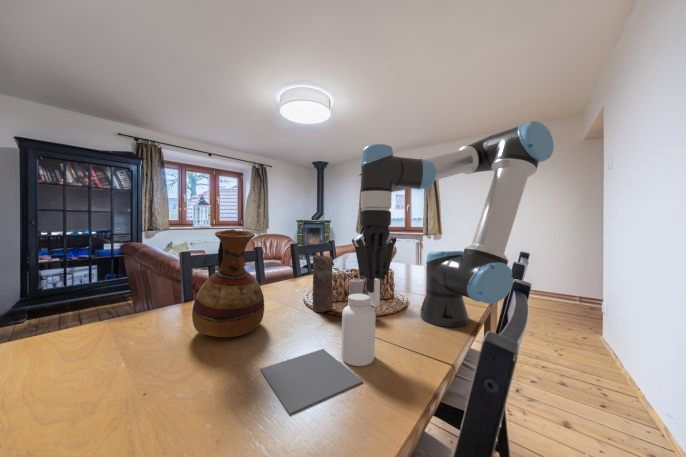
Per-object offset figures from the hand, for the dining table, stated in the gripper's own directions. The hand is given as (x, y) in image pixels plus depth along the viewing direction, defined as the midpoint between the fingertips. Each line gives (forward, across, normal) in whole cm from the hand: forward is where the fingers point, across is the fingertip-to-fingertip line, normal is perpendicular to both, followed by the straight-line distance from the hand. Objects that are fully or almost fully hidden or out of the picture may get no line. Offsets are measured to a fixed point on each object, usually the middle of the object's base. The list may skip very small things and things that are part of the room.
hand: (373, 304), depth 65 cm
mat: (+12, +18, 0) cm, 22 cm away
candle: (+12, -5, -34) cm, 36 cm away
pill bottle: (+12, +5, 0) cm, 13 cm away
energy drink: (+12, -13, -24) cm, 30 cm away
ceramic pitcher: (+13, +27, -34) cm, 45 cm away
